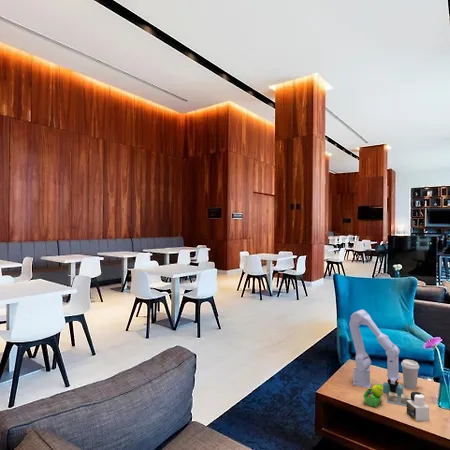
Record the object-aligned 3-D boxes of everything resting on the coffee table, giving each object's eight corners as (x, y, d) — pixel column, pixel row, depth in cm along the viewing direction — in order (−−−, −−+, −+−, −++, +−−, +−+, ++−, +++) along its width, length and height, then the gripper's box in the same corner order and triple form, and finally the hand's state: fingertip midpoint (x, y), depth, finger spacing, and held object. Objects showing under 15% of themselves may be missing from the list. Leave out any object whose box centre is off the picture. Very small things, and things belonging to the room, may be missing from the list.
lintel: (383, 393, 191) (383, 384, 191) (383, 390, 194) (383, 381, 194) (403, 397, 186) (403, 388, 186) (402, 394, 190) (402, 385, 190)
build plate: (386, 403, 180) (386, 402, 180) (387, 395, 189) (387, 394, 189) (412, 408, 175) (412, 407, 175) (411, 400, 184) (411, 399, 184)
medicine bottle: (406, 414, 170) (406, 390, 170) (419, 413, 170) (419, 389, 171) (415, 422, 163) (415, 397, 163) (429, 421, 163) (429, 396, 163)
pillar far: (401, 402, 180) (401, 397, 180) (401, 399, 183) (401, 394, 183) (409, 404, 178) (409, 399, 178) (409, 401, 181) (409, 395, 181)
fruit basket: (368, 396, 187) (368, 376, 187) (385, 401, 182) (385, 381, 182) (362, 405, 178) (362, 384, 178) (380, 411, 173) (380, 389, 173)
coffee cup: (421, 392, 192) (422, 366, 192) (403, 390, 194) (404, 365, 194) (416, 384, 201) (416, 359, 201) (398, 382, 203) (398, 358, 203)
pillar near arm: (388, 400, 182) (388, 394, 182) (389, 397, 186) (389, 391, 186) (397, 402, 180) (397, 396, 180) (397, 398, 184) (397, 393, 184)
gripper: (401, 373, 182) (401, 398, 182) (400, 364, 195) (400, 387, 195) (386, 371, 185) (386, 395, 185) (387, 362, 198) (387, 384, 198)
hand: (393, 391), depth 190 cm, fingers closed on lintel, 4 cm apart
